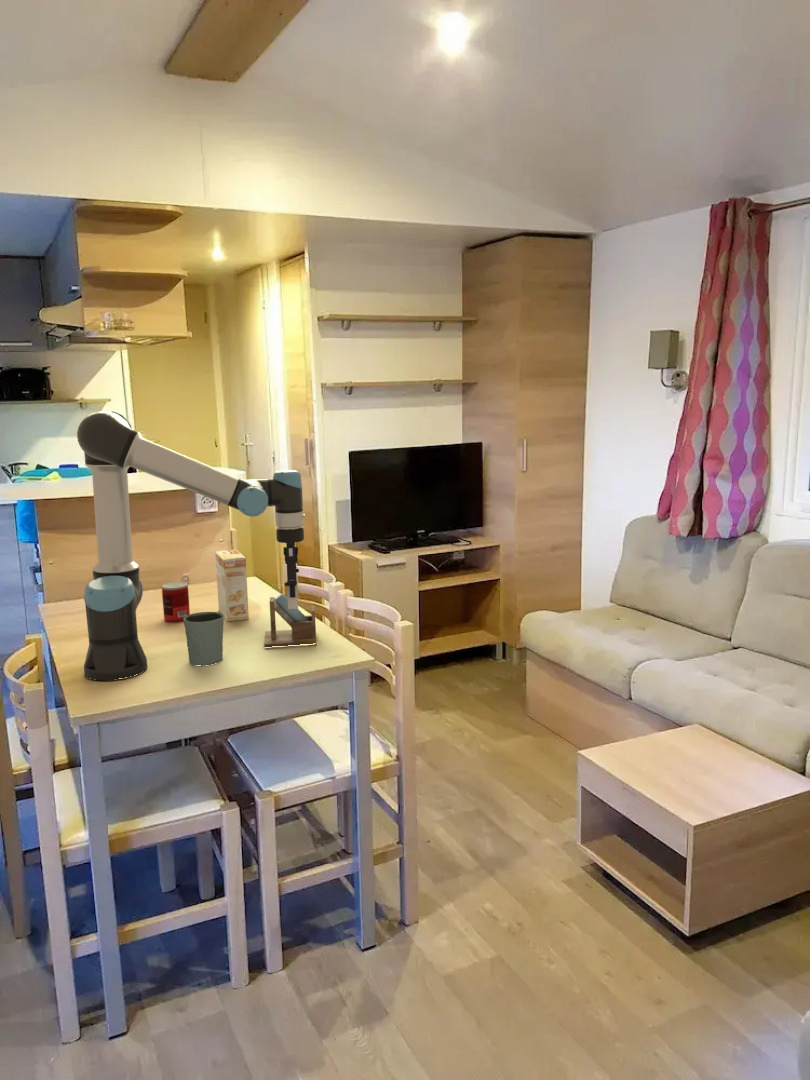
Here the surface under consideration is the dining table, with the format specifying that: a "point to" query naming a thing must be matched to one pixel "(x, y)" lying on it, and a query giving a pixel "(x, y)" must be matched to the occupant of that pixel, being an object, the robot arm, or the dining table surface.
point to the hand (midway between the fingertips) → (293, 602)
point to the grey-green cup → (204, 637)
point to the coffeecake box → (232, 585)
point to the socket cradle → (296, 636)
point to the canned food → (175, 601)
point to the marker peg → (293, 613)
